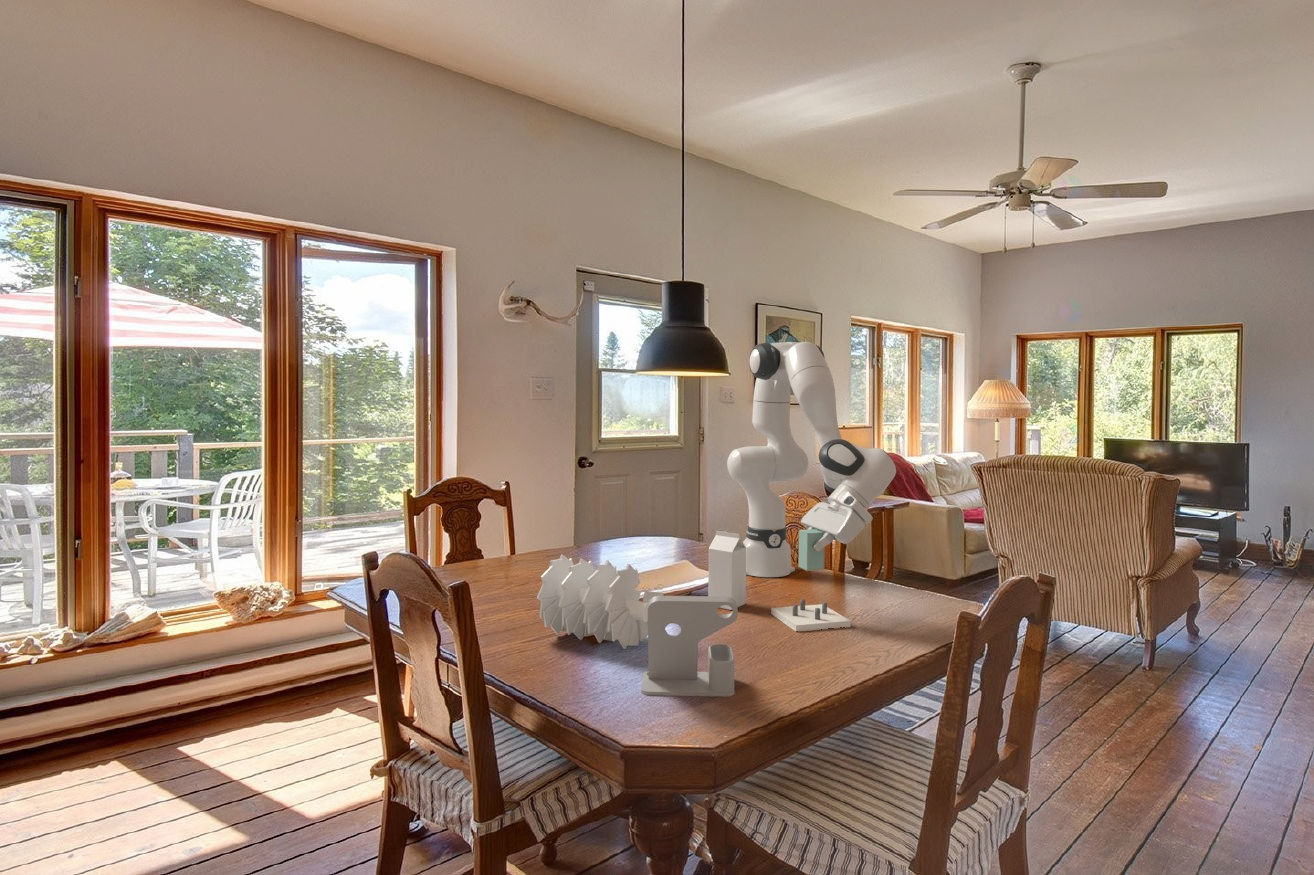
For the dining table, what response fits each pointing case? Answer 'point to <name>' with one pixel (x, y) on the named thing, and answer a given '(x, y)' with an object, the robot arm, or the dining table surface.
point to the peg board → (810, 617)
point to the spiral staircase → (594, 601)
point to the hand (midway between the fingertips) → (809, 546)
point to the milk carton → (727, 568)
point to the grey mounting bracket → (688, 647)
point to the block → (810, 550)
